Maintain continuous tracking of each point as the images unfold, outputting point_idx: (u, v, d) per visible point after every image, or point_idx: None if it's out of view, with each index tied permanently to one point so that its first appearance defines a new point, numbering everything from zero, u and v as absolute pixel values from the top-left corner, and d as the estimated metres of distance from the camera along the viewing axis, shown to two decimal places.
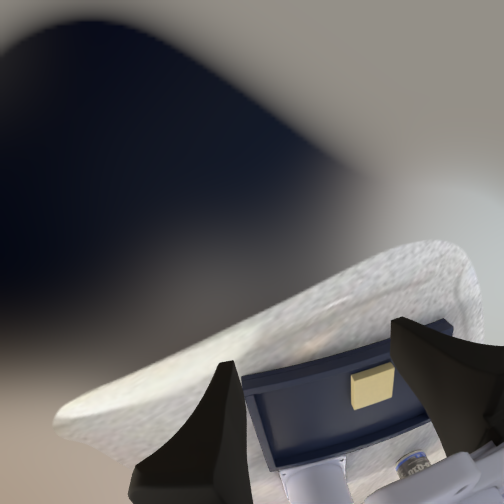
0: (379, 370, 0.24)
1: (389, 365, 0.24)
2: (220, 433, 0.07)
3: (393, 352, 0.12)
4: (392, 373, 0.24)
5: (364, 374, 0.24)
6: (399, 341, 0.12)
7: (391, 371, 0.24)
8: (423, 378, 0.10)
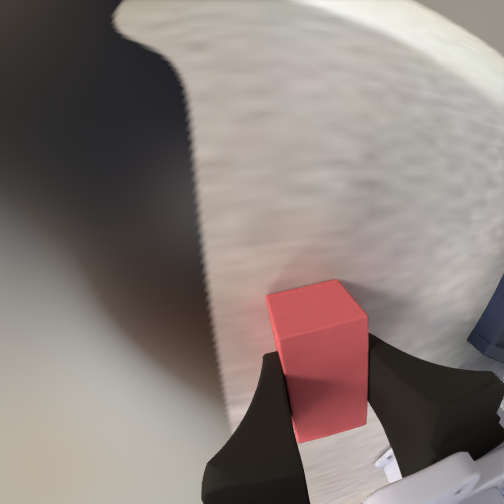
0: None
1: None
2: (289, 421, 0.07)
3: None
4: None
5: None
6: None
7: None
8: (379, 395, 0.10)
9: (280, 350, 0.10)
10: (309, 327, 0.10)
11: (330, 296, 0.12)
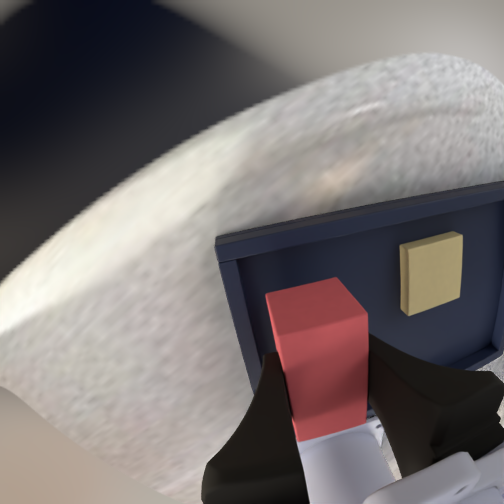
0: (441, 238, 0.15)
1: (453, 233, 0.15)
2: (289, 421, 0.07)
3: None
4: (460, 246, 0.15)
5: (421, 242, 0.15)
6: None
7: (458, 240, 0.14)
8: (379, 395, 0.10)
9: (280, 348, 0.10)
10: (309, 325, 0.10)
11: (330, 294, 0.12)
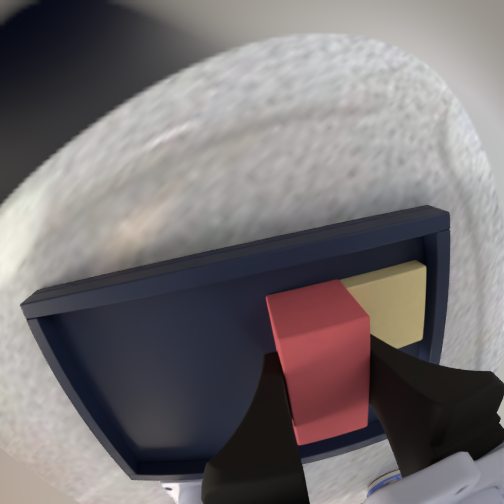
0: (397, 271, 0.12)
1: (415, 263, 0.13)
2: (289, 421, 0.07)
3: None
4: (422, 280, 0.12)
5: (368, 277, 0.12)
6: None
7: (420, 273, 0.12)
8: (379, 395, 0.10)
9: (280, 352, 0.10)
10: (310, 328, 0.10)
11: (331, 297, 0.11)
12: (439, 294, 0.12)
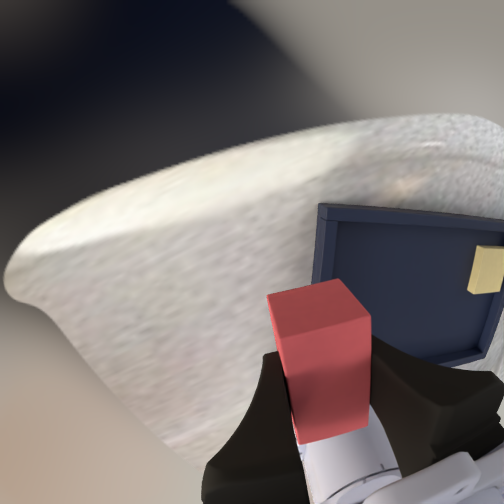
0: (499, 247, 0.20)
1: None
2: (289, 421, 0.07)
3: None
4: None
5: (489, 247, 0.20)
6: None
7: None
8: (379, 395, 0.10)
9: (281, 351, 0.10)
10: (311, 327, 0.10)
11: (332, 296, 0.11)
12: None
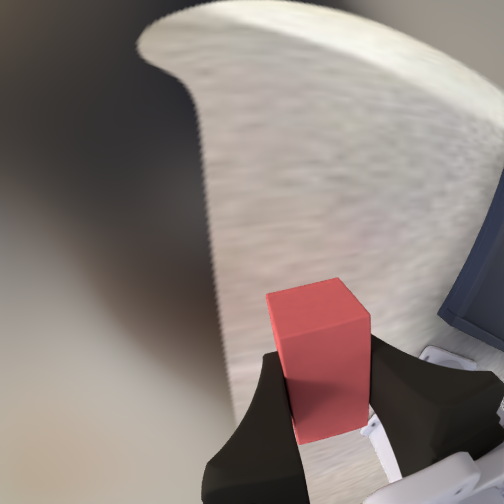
0: None
1: None
2: (289, 421, 0.07)
3: None
4: None
5: None
6: None
7: None
8: (379, 395, 0.10)
9: (280, 350, 0.10)
10: (310, 326, 0.10)
11: (331, 295, 0.11)
12: None
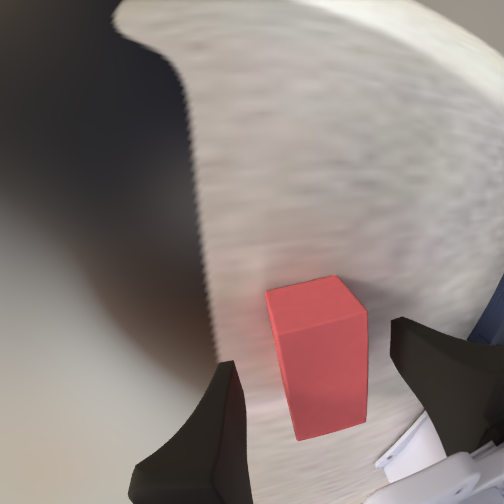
0: None
1: None
2: (220, 433, 0.07)
3: (393, 352, 0.12)
4: None
5: None
6: (399, 341, 0.12)
7: None
8: (423, 378, 0.10)
9: (279, 346, 0.10)
10: (308, 322, 0.10)
11: (329, 292, 0.12)
12: None
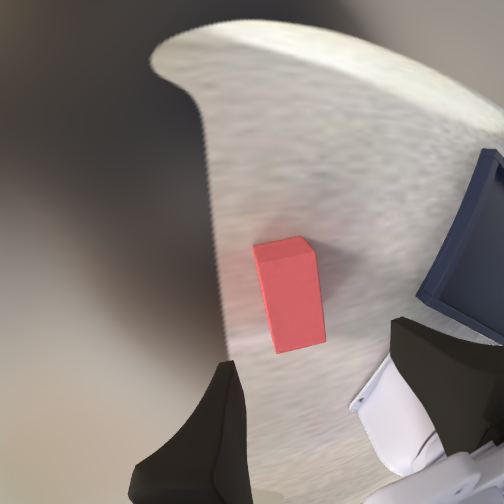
0: None
1: None
2: (220, 433, 0.07)
3: (393, 352, 0.12)
4: None
5: None
6: (399, 341, 0.12)
7: None
8: (423, 378, 0.10)
9: (259, 272, 0.17)
10: (277, 257, 0.17)
11: (294, 244, 0.18)
12: None
